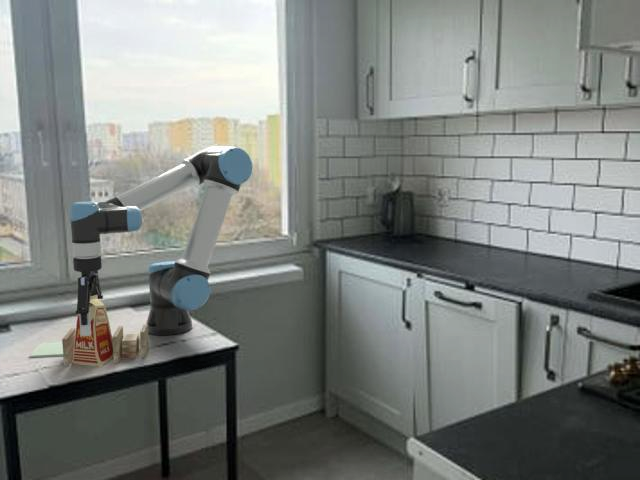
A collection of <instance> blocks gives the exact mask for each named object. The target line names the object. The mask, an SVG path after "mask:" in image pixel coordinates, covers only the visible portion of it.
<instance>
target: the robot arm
mask: <svg viewBox="0 0 640 480" xmlns="http://www.w3.org/2000/svg"><path fill="white" fill-rule="evenodd" d="M252 173H253V163H252V159H251V157H250V155H249V153H248V152H246V150H244V149H243V148H240V147H238V146H237V147H236V146H233V145H231V146H230V145H229V146H219V145H218V146H214V145H213V146H210V147H207V148H205V149H202V150H201V151H198V152H196V153H195V154H192V155H191V156H189V157H187V158H185V159H183V160H182V161H181V164H180V165H177V166H176V167H174V168H171V169H169V170H168V171H166V172H164V173H161V174H159V175H157V176H155V177H153V178H151V179H149V180H148V181H147V180H146V182H143V183H141V184H139V185H137V186H135V187H133V188H131V189H129V190H127V191H125V192H123V193H121V194H119V195H117V196H115V197H113V198H109V200H106V201H99V202H97V201H77V202H73V203H72V204H70V209H69V211H70V212H69V213H70V214H69V215H70V218H69V221H70V229H71V230H70V231H71V232H70V233H71V245H70V249H72V256H73V259H72V265H73V270H74V271H75V272H77V273H78V272H79V273H81V276H79V277H78V278H77V285H78V286H77V299H76V300H77V302H76V303H77V304H76V310H75V315H78V314H79V319H80V335H81V336H91V321H90V312H89V305H90V296H94V295H98V299H99V300H103V299H104V295H102V293H103V292H102V288H101V283H100V279H99V271H100V270H101V269H102V267H103V266H102V265H103V263H102V256H100V255H101V254H102V246H101V245H102V244H101V235H105V234H107V235H108V234H109V235H110V234H120V233H130V232H131V233H132V232H139V230H141V228H142V224H143V218H142V217H143V216H142V212H143V210H146V209H148V208H150V207H151V206H154V205H156V204H157V203H160V202H161V201H164V200H165V199H167V198H169V197H171V196H173V195H175V194H177V193H179V192H181V191H183V190H185V189H187V188H189V187H191V186H195V187H197V186H200V185H202V184H204V185H205V187H206V188H205V191H204V193H203V196H202V199H201V203H200V204H199V205H200V206H198V207H199V208H198V211H197V214H196V216H195V220H194V222H193V224H192V227H191V230H190V234H189V236H188V239H187V242H186V245H185V249H184V251H183V253H182V256H181V258H179V259H177V260H171V261H162V262H156V263H152V264H150V265H149V266H148V275H147V276H148V283H149V284H148V285H149V286H148V287H149V303H150V309H149V312H148V315H147V320H146V324H145V325H148V334H151V335H154V336H155V335H156V336H171V335H172V336H174V335H179V334H183V333H186V332H188V331H190V330H192V328H193V321H192V317H191V314H190V312H189V311H194V310H197V309H199V308H202V306H204V305H205V303H206V302H208V299H209V297H210V294H211V285H210V282H209V278H210V275H211V270H210V269H209V264H210V261H211V258H212V255H213V253H214V249H215V246H216V243H217V241H218V237H219V236H220V233H221V229H222V226H223V223H224V219H225V217H226V214H227V212H228V209H229V206H230V203H231V200H232V198H233V197H234V196H235V195H238V193H239V191H240V189H241V185H242V184H244V183H246V182H248V180H249V179H250V178H251V175H252ZM82 308H84V309H82Z"/></svg>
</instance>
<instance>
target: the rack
mask: <svg viewBox="0 0 640 480" xmlns="http://www.w3.org/2000/svg"><path fill="white" fill-rule="evenodd" d="M75 333H76V327H71V328H70V329H69V330H68V332H66V334H65V335H64V336H63V337H62V339H61V340H62V341H61V342H62V344H63V356H62V357H63V366H64V367H69V366H70V365H71V364H72V361H73V351H74V342H75ZM139 335H140V337H139V338H140V351H141V353H140V354H141V359H146V358H147V355H148V354H147V353H149V350H150V347H149V345H150V342H149V333H148V325H146V324H143V325H142V326H141V330H140V333H139ZM123 337H124V326H123V325H118V326H117V328H116V330H115V332H114V333H113V335H112V339H113V354H114V357H113V363H114V364H119V362H120V361H121V359H122V340H123Z"/></svg>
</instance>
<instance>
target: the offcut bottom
mask: <svg viewBox="0 0 640 480" xmlns="http://www.w3.org/2000/svg"><path fill="white" fill-rule="evenodd" d="M139 352H140V347H139V348H138V350H137V352H136V353H129V354H122V357H121V359H123V358H125V359H136V358H137V357H136V356H138V354H139Z"/></svg>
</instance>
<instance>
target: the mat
mask: <svg viewBox="0 0 640 480" xmlns="http://www.w3.org/2000/svg"><path fill="white" fill-rule="evenodd" d="M47 357H48V358H49V357H50V358H52V357H63V344H62V341H60V342H59V341H58V342H41V343H39V344H38V346H36V347H35V349H34V350H33V351H32V352H31V353H30V354H29V355H28V358H29V359H30V358H31V359H33V358H47Z"/></svg>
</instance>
